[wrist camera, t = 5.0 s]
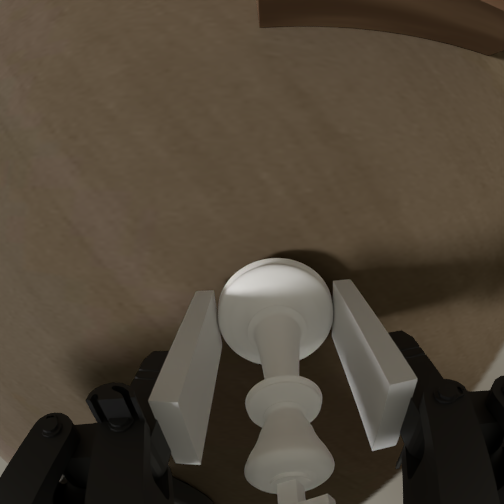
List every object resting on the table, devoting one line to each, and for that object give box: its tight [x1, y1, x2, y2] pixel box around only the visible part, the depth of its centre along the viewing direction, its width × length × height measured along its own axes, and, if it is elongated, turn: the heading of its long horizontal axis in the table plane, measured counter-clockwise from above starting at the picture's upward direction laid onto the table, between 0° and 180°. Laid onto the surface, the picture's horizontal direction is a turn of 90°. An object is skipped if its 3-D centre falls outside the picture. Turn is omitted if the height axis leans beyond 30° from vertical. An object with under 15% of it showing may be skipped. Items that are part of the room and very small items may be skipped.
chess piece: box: [218, 258, 336, 504], centre depth 8 cm, size 5×5×10 cm
